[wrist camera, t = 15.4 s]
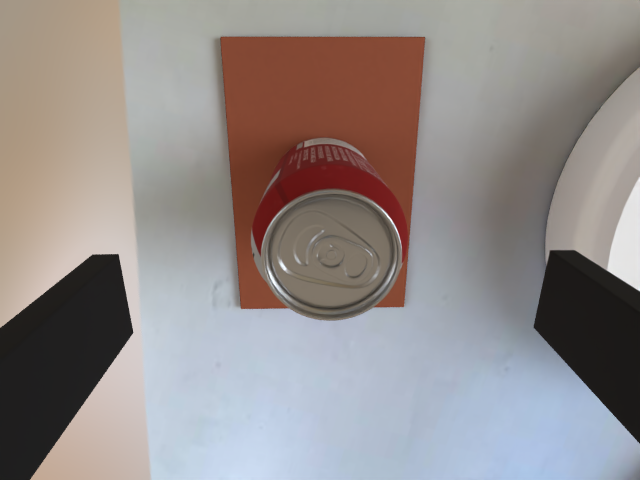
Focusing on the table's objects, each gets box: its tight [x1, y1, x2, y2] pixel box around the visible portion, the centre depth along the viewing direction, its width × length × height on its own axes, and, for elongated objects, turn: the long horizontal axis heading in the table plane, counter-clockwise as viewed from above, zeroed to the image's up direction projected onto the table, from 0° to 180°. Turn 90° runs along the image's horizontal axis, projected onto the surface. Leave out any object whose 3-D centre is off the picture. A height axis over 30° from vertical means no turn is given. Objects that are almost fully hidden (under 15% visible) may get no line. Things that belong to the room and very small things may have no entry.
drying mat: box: [221, 37, 425, 309], centre depth 28 cm, size 18×12×1 cm, turn 0°
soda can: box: [251, 137, 408, 321], centre depth 22 cm, size 7×7×12 cm
